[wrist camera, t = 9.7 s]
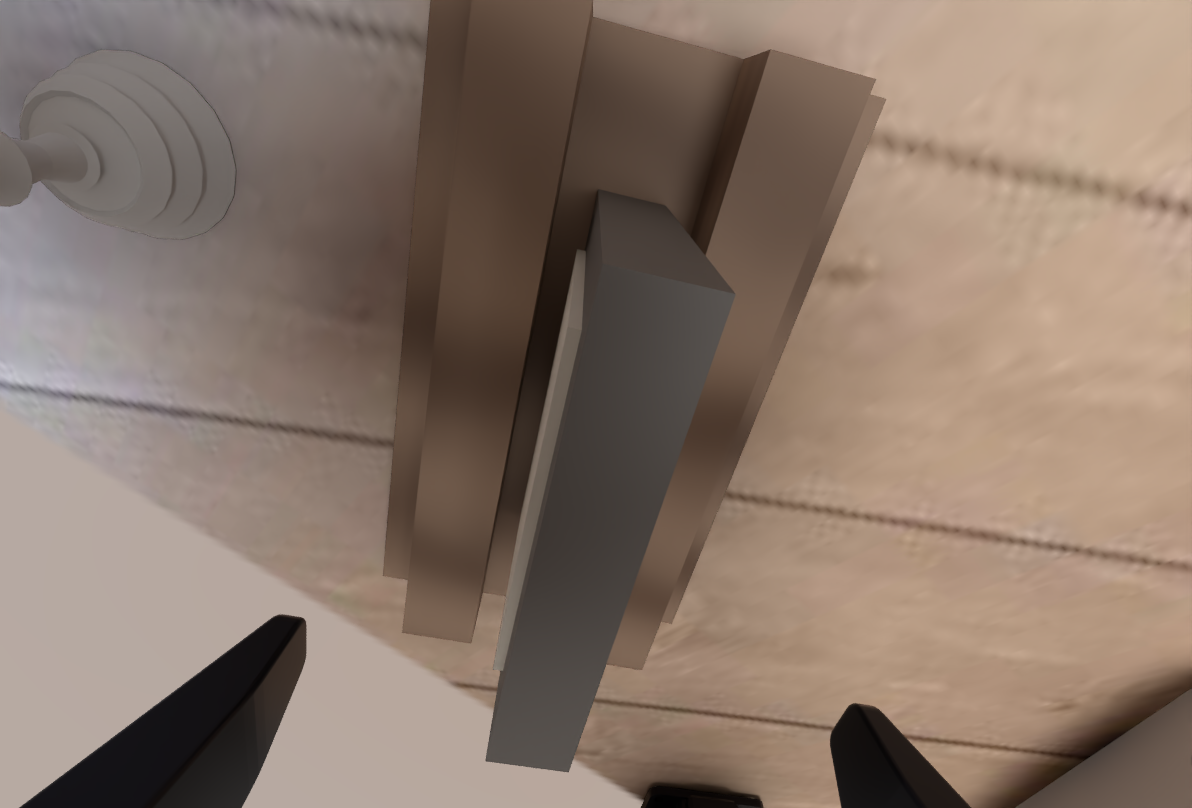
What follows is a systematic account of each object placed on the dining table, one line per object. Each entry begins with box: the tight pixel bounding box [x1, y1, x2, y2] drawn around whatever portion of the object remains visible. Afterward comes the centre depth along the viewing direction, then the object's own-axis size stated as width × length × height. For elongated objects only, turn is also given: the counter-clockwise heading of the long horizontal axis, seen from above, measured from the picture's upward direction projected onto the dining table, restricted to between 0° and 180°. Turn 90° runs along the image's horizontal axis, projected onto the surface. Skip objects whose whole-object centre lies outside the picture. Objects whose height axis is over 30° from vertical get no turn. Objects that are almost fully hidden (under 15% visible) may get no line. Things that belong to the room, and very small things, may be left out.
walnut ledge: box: [383, 0, 886, 670], centre depth 18 cm, size 20×12×4 cm, turn 167°
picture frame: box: [486, 189, 736, 772], centre depth 15 cm, size 2×12×9 cm, turn 167°
